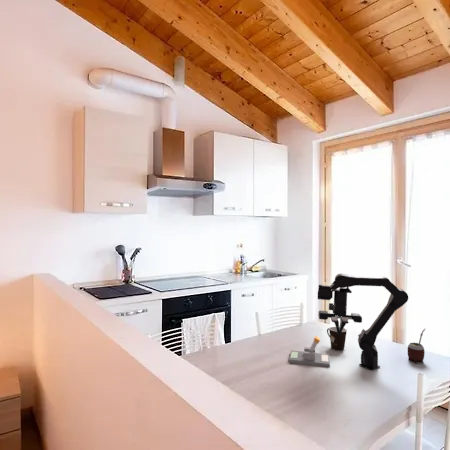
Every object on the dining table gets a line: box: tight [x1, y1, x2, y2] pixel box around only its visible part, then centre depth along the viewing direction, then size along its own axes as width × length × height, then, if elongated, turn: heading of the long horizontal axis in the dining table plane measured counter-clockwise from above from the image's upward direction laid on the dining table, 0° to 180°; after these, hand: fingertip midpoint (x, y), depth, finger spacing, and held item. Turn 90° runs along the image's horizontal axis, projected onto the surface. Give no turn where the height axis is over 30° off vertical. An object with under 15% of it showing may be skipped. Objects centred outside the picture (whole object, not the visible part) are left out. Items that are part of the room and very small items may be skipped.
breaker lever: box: [308, 335, 321, 352], centre depth 165 cm, size 2×4×10 cm, turn 165°
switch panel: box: [288, 346, 331, 368], centre depth 165 cm, size 18×12×4 cm, turn 75°
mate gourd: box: [407, 328, 426, 364], centre depth 166 cm, size 8×8×15 cm
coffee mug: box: [326, 326, 347, 352], centre depth 182 cm, size 12×9×10 cm
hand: (338, 334), depth 163 cm, fingers closed
